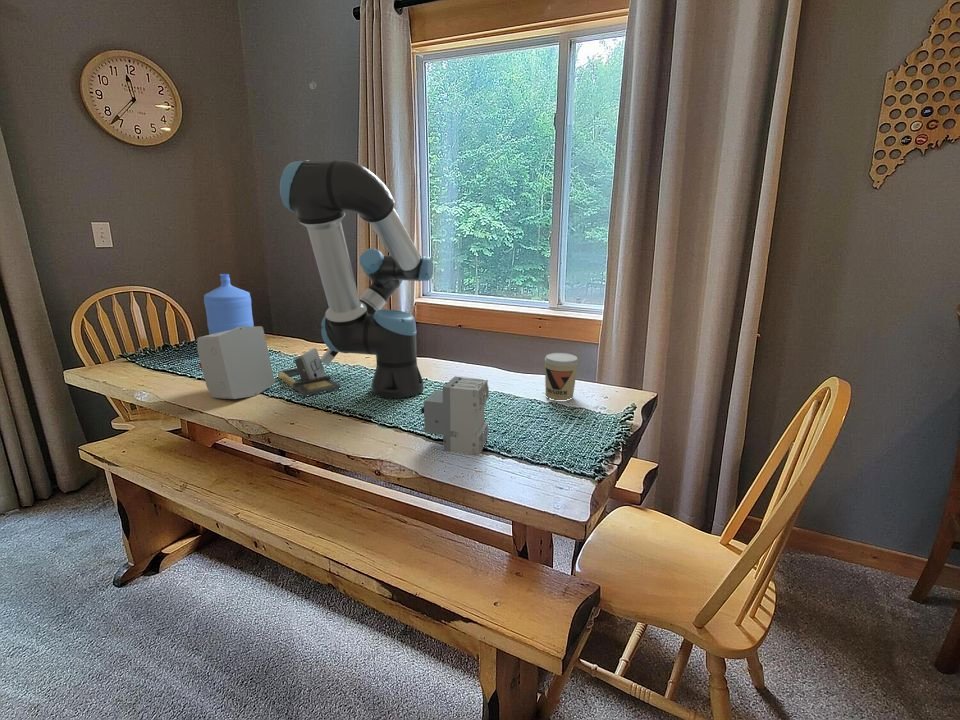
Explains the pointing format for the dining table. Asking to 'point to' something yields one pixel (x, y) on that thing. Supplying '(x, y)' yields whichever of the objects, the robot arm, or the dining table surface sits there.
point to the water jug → (227, 307)
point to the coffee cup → (560, 375)
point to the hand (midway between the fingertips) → (323, 362)
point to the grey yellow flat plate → (308, 383)
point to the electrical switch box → (235, 362)
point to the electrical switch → (310, 365)
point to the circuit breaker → (458, 414)
